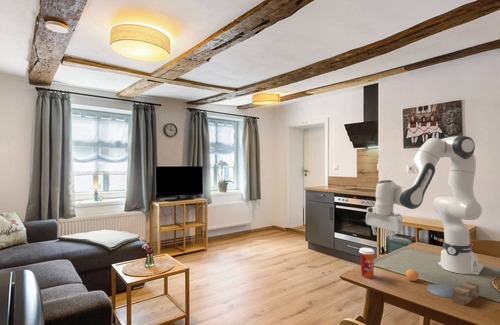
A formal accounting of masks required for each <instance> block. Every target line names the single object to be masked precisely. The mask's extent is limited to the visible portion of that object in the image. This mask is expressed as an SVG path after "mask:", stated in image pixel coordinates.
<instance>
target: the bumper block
mask: <svg viewBox="0 0 500 325" xmlns="http://www.w3.org/2000/svg"><path fill="white" fill-rule="evenodd" d="M479 293H480V288H479V284H476V283H473V282H470V281H467V282H466V283H463V284H461V285H459V286H458V287H456V288H454V290H453V298H452V303H455V304H458V305H461V306H466V305H467V304H469V303H471V302H472V301H474V300H476V299H477V298H479V296H480V294H479Z"/></svg>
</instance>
